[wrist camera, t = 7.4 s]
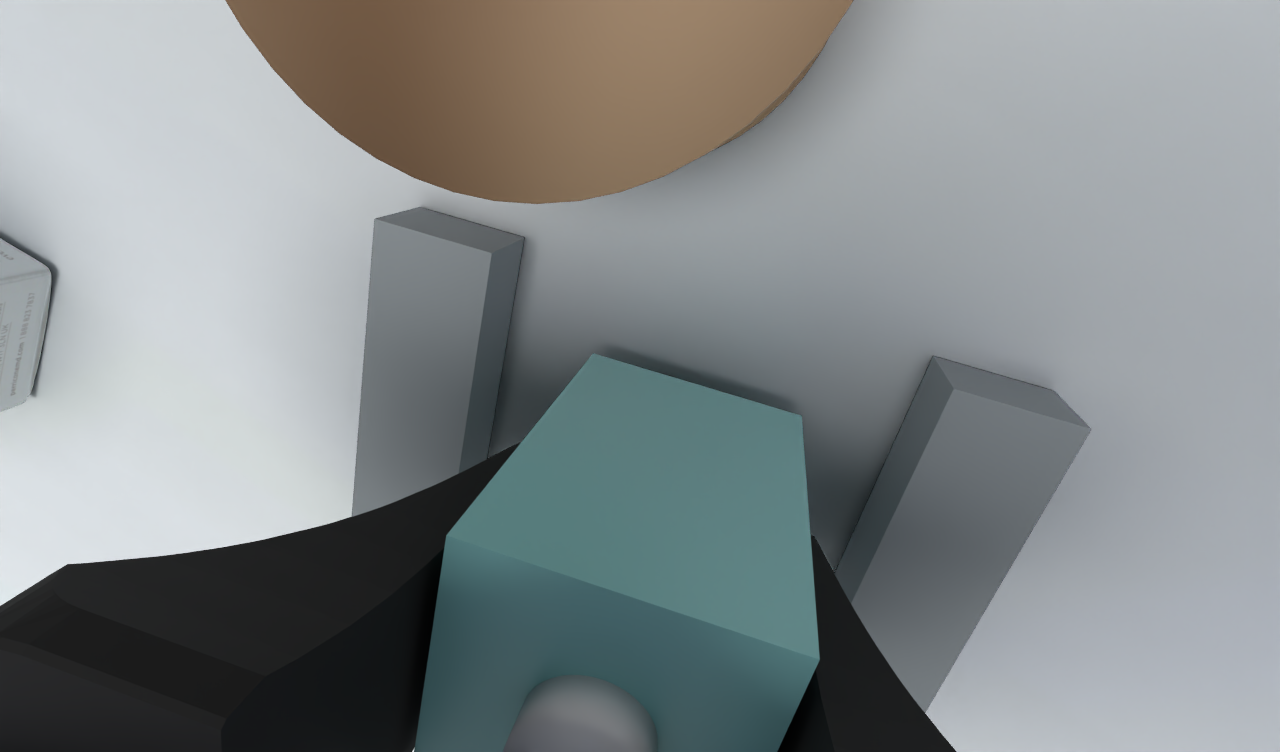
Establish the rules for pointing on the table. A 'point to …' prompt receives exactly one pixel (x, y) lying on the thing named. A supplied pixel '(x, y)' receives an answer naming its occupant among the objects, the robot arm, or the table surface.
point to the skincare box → (21, 322)
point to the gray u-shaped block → (892, 518)
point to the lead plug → (629, 579)
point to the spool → (540, 82)
